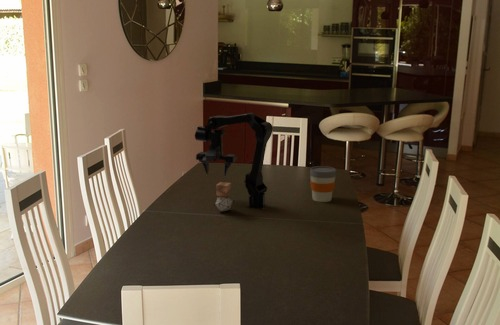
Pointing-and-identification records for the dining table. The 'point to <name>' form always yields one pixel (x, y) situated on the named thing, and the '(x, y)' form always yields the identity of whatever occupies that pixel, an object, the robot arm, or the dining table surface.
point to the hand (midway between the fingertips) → (216, 174)
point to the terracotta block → (223, 189)
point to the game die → (223, 203)
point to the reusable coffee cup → (322, 183)
